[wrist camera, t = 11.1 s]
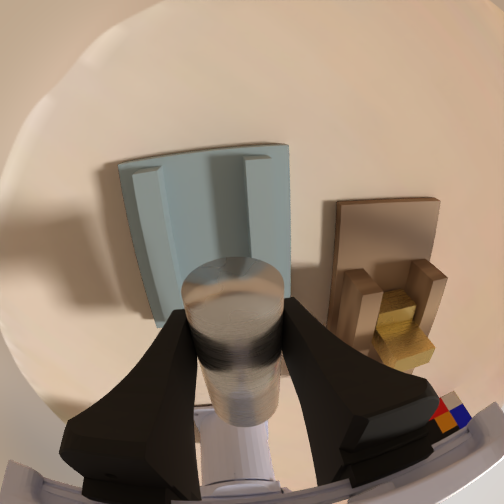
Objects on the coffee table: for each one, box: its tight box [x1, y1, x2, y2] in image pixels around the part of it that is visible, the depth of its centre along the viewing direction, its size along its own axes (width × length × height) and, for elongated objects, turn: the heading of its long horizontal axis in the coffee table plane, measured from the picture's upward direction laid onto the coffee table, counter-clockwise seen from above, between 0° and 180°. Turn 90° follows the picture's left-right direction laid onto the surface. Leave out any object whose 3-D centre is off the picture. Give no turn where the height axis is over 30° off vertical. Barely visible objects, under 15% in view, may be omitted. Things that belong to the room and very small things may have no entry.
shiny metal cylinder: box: [181, 257, 284, 427], centre depth 12 cm, size 8×4×4 cm, turn 3°
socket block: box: [327, 198, 448, 374], centre depth 22 cm, size 20×9×4 cm, turn 3°
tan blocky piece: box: [371, 289, 435, 372], centre depth 20 cm, size 3×4×6 cm
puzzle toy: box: [426, 391, 472, 445], centre depth 34 cm, size 10×10×10 cm
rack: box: [118, 144, 291, 328], centre depth 18 cm, size 12×10×3 cm
